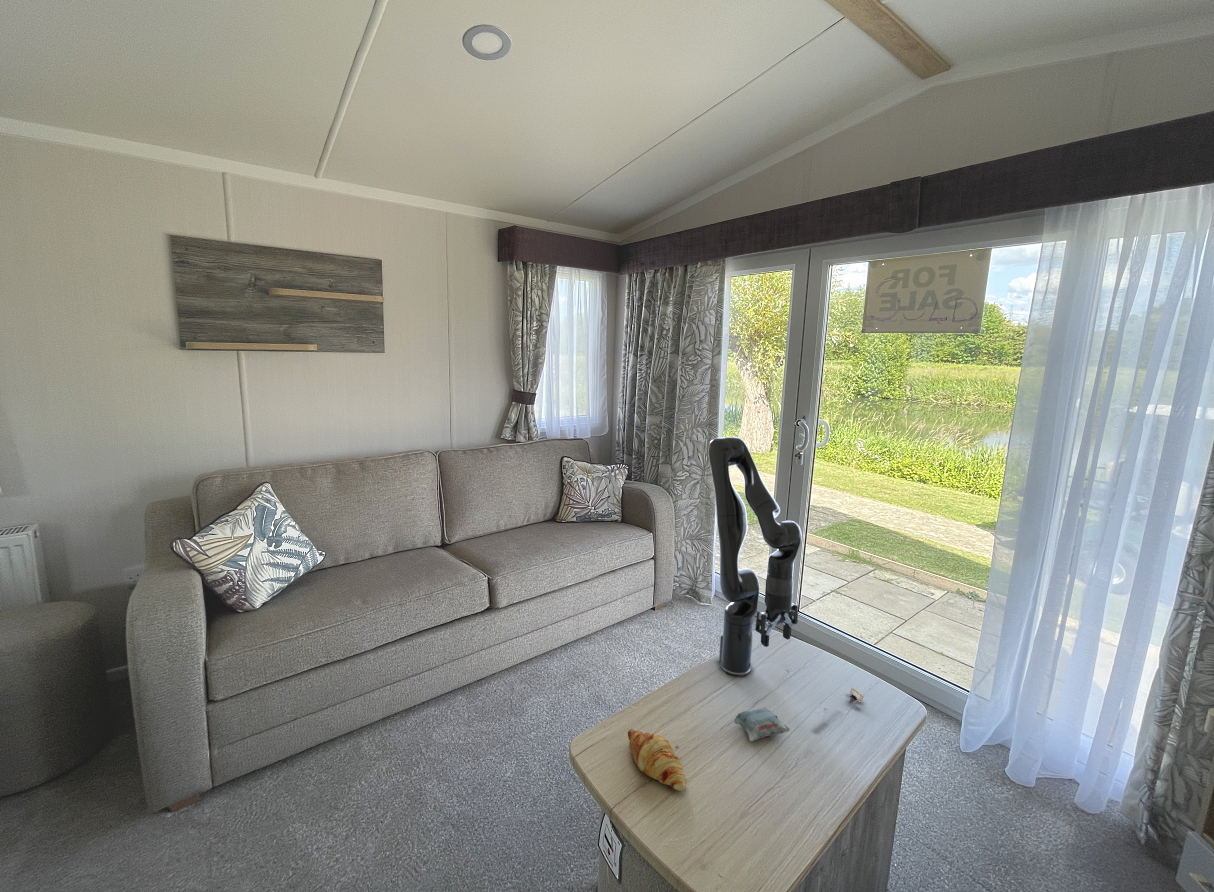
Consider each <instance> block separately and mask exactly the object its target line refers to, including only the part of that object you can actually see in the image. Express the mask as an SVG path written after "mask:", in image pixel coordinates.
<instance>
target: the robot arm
mask: <svg viewBox="0 0 1214 892" xmlns="http://www.w3.org/2000/svg"><path fill="white" fill-rule="evenodd" d="M707 452H708V453H707V455H708V461H709V462H708V463H709V469H710V472H711V473H710V474H711V477H712V483H713V491H714V498H715V499H714V500H715V511H716V523H717V530H718V532H717V533H718V543H719V583H720V591H721V593H722V596H723V597H724V599H725V600H726V601H727V602H729V603H728V604H727V605H726V607H725V608H724V609H723V610H724V611H723V628H722V635H721V636H720V641H719V657H718V658H719V659H718V660H719V661H718V663H719V664H720V668H721V669H722V670H723V671H724V672H725V673H727V674H729V675H731V676H736V677H737V676H738V677H742V676H746V675H748V674H749V673H750V672H751V669H752V650H753V636H754V621H755V632H757V633H758V634H760V644H761V645H762V646H764V647H766V648H768V647H769V646H770V633H771V631H772V630H774V629H775V627H776V626H777V625H779V624H783V627H782V637H783V638H784V639H786V640H790V639H791V637H792V628H793V627H794V625H797V624H798V620H799V619H798V618H799V605H797V604H795V603H793V598H794V597H793V596H794V570H795V569H794V568H795V561H796V558H797V556H798V553H799V550H800V547H801V544H802V540H803V539H802V538H803V533H802V529H801V527H800V525H799V524H798V523H797V522H795V521H793V520H785V521H784V520H783V521H778V522H777V520H776V518H777V517H778V516H779V515H780V512H781V508H780V506H779V504H778V502H777V501H776V500H775V498H774V496H773V495H772V493H771V492H770V491H769V489H768V487H767V486H766V484H765V483H764V481H763V479H762V477H761V474H760V472H759V469H758V468H757V465H756V463H755V461H754V459H753V457H752V454H751V452H750V449H749V448H748V446H747V443H745V441H744V440H743V439H742V438H741V437H739V436H724V437H723V436H722V437H715V438H712V439H711V440H710V442H709V445H708V450H707ZM734 466H735V467H736V468H737V469H738V470H739V472H740V473H741V475H742V477H743V482H744V483H743V485H744V486H743V487H744V488H743V490H744V497H745V500H746V502H747V504H748V506H749V508H750V509H751V511H752V512H753V513H754V515H755V517H756V518H757V522H758V526H759V528H760V532H761V535H762V538H763V541H764V542H765V544H766V545H768V546H769V547H770V548H773V549H775V551H773V553H770V554H769V556H768V559H767V572H766V578H765V589H764V605H765V607H766V608H765V611H762V612H761V611H758V607H759V600H760V599H759V598H760V581H759V578H758V577H759V576H757V573H756V572H755V571H754V570H752V569H751V568H739V557H740V552H741V549H742V547H743V544H744V541H745V539H746V536H747V533H748V529H749V528H748V515H747V508H746V505H745V503H744V501H743V499H742V498H741V496H740V495H739V493H738V492H737V490H736V488H735V487H734V485H733V483H732V480H731V476H730V467H734ZM755 616H756V620H755Z"/></svg>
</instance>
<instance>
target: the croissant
mask: <svg viewBox="0 0 1214 892" xmlns="http://www.w3.org/2000/svg"><path fill="white" fill-rule="evenodd" d="M627 738H628V740H629V742H628V743H629V745H628V747H629V750H630V752H631V755H632V759H633V761H634V763H635V764H636V765H637V767H638V769H639V770H640V772H642V773H643V774H644V775H646V776H647V777H649V778H650V779H654V780H656V781H657V780H658V782H659V783H661V784H663V785H667V786H670V787H671V788H672V789H673V790H675V791H678V792H684V791H685V790H686V788H687V786H686V785H687V784H686V777H685V773H684V772H683V765H682V762H681V760H680V759H679V757H678V756H676V755H675V753H674V749H673V747H672V745H671V744H670V742H669V740H667V739H666V738H665V737H663V736H662V735H660V734H658V733H655V734H654V733H652V734H651V733H650V732H645V733H643V731H640V730H634V729H633V728H630V729H629V730H628V731H627Z"/></svg>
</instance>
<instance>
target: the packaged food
mask: <svg viewBox="0 0 1214 892" xmlns="http://www.w3.org/2000/svg"><path fill="white" fill-rule="evenodd" d="M733 721H734V724H736V725H737V724H738V725H739V726H740V727H742V728H743V729H744V730H745V731H746V734H747V735H748V739H749V742H754V741H757V740H760V739H762V738H765V737H771V736H774V735H779V734H784V733H787V732H790V731H791V728H790V727H789V726H787V724H784V722H783V721H781V720H780V719H779V717H778V715H776V714H775V713H774V712H773V711H772V710H770V709H769V708H767V707H762V708H758V709H754V710H748V711H742V712H739V713H738V714H737V715H736V716H735V719H734V720H733Z"/></svg>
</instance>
